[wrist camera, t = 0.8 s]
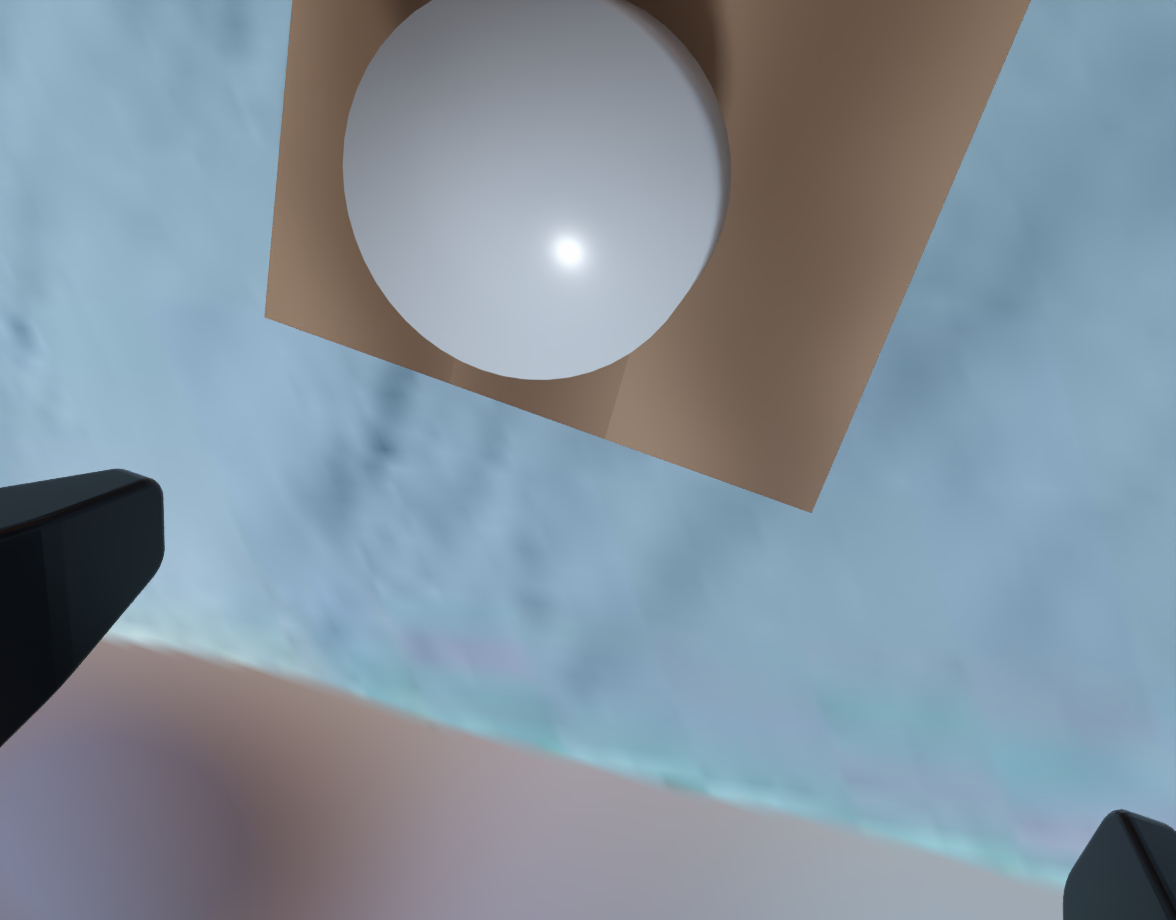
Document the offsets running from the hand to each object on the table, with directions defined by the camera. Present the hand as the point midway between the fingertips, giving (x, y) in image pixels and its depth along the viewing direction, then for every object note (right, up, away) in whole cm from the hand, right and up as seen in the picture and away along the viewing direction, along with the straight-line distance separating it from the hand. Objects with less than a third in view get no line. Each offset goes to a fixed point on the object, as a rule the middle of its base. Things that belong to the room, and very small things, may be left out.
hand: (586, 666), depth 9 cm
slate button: (0, +8, +9) cm, 12 cm away
